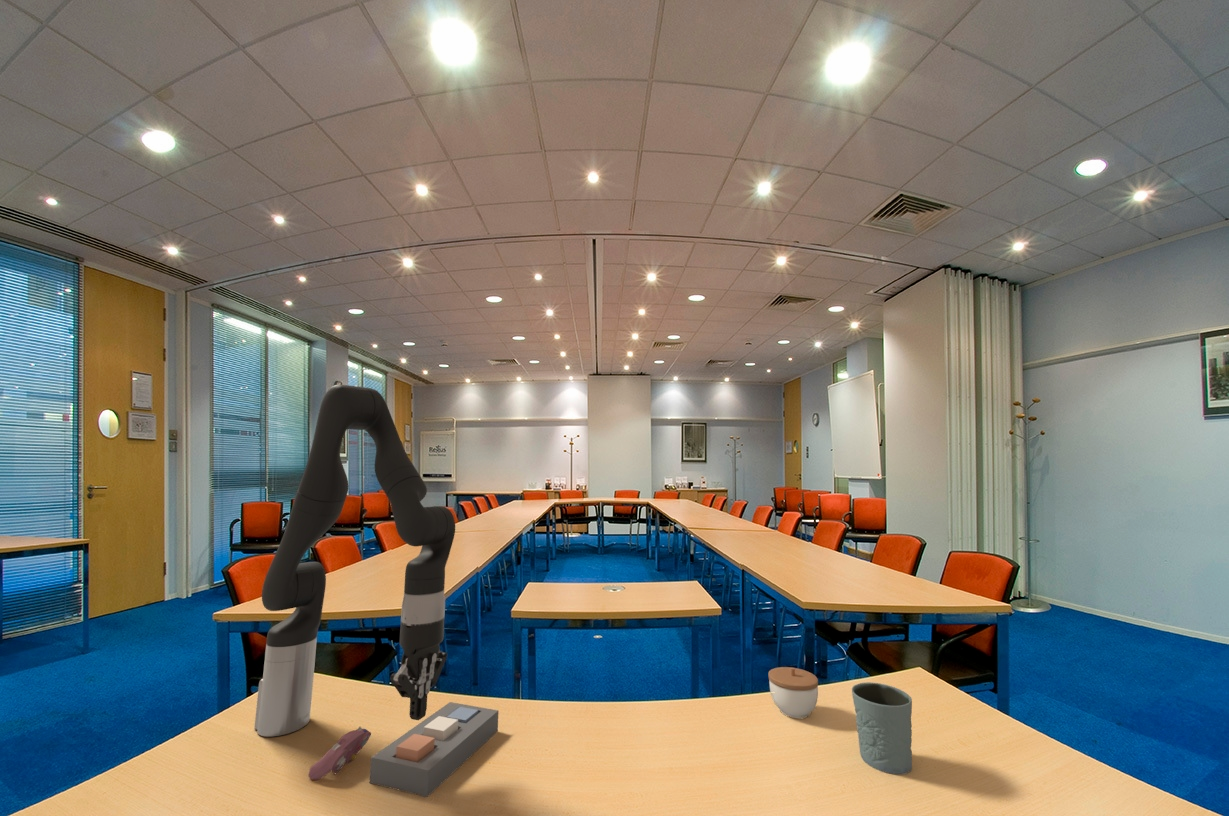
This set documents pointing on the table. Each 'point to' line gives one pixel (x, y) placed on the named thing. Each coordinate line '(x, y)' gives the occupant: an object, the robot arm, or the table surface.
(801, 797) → the table surface
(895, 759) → the grey embossed vase
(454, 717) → the slate blue key
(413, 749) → the terracotta key
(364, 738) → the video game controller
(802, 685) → the lidded jar
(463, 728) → the key console
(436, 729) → the off-white key
